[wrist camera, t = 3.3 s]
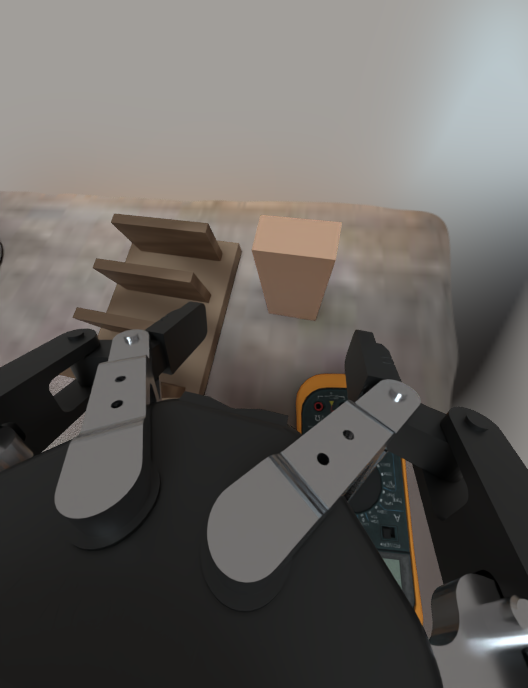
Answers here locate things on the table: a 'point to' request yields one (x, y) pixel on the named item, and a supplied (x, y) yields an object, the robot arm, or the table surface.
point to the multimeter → (371, 488)
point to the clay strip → (295, 263)
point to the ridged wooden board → (168, 288)
